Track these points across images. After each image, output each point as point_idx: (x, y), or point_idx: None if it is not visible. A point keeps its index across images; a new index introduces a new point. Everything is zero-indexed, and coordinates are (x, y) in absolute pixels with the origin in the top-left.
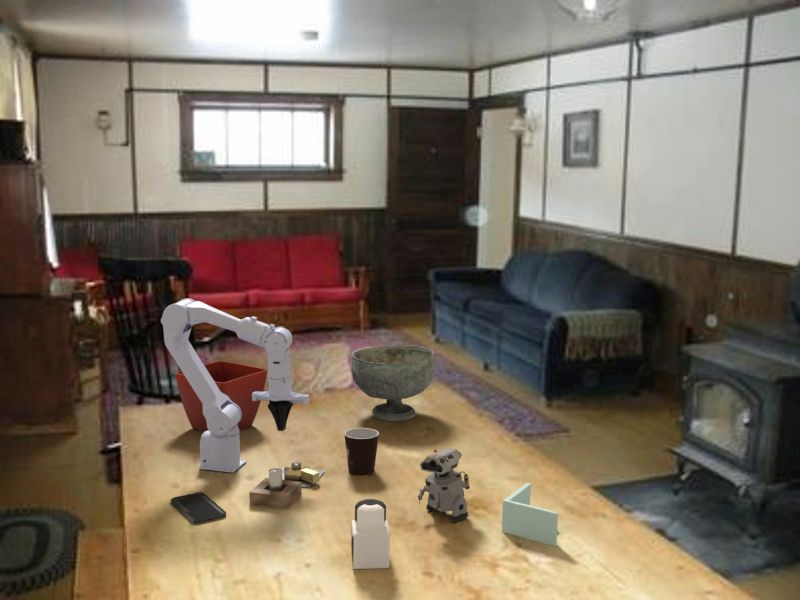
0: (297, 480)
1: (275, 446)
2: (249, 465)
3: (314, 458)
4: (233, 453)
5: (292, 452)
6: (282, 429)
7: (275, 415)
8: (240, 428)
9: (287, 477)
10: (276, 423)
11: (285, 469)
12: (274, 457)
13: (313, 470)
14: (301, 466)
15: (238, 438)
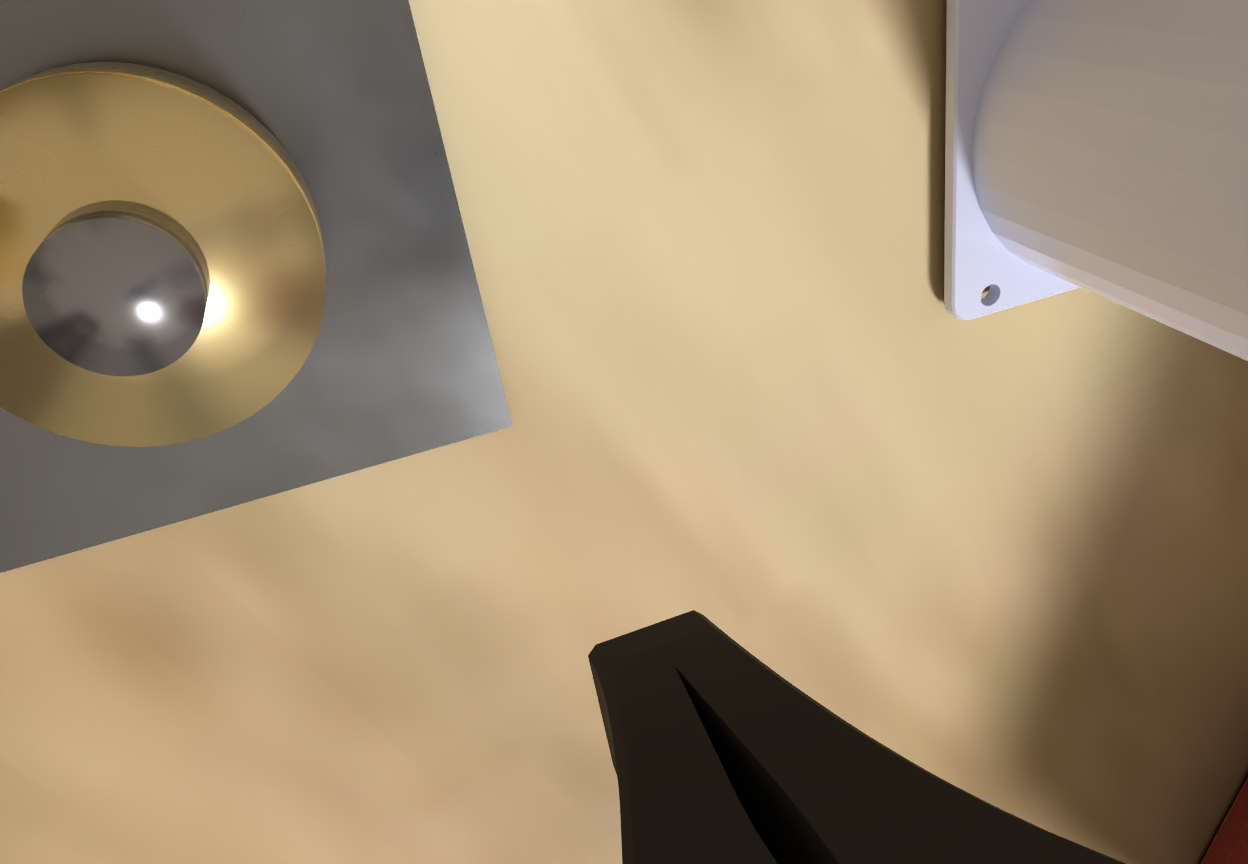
0: None
1: None
2: (879, 269)
3: (386, 768)
4: (1127, 84)
5: None
6: (596, 666)
7: (913, 848)
8: (1241, 806)
9: (153, 71)
10: (780, 694)
11: (246, 158)
12: (756, 570)
13: (103, 515)
14: (127, 384)
15: (1246, 256)
